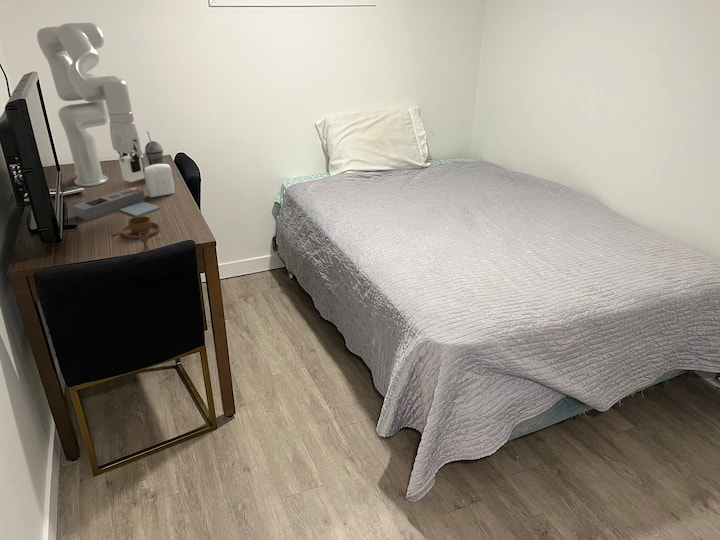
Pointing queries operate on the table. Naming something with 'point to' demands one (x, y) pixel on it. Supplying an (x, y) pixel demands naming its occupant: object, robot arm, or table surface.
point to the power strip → (109, 203)
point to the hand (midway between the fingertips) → (132, 169)
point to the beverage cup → (154, 152)
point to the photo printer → (159, 180)
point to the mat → (139, 209)
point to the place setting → (139, 229)
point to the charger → (130, 169)
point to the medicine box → (145, 160)
